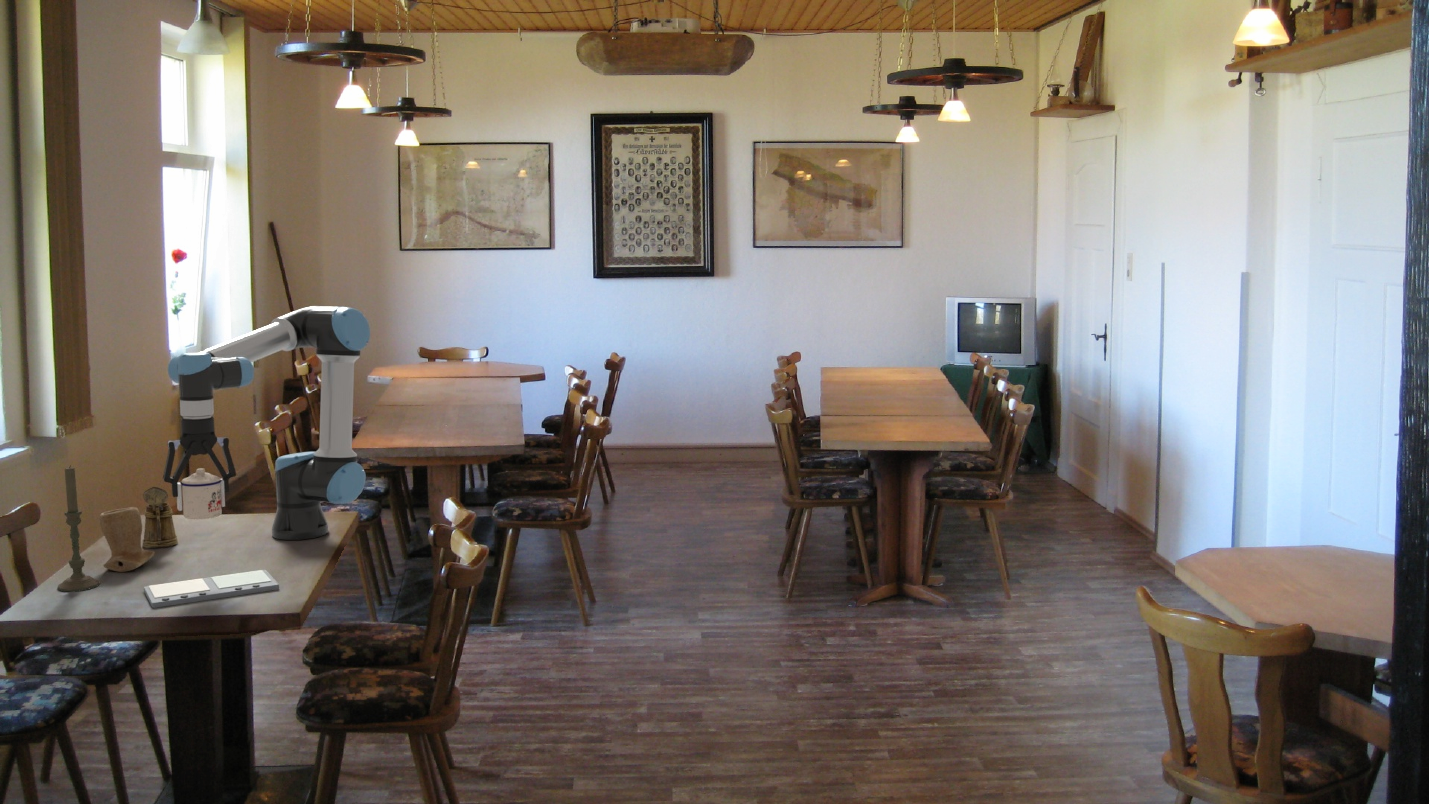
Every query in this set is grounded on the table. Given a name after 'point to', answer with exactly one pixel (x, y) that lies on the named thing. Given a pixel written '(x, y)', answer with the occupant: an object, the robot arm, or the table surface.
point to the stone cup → (124, 539)
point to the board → (210, 588)
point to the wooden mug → (158, 520)
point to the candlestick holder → (75, 539)
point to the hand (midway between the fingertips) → (201, 507)
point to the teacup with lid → (201, 495)
